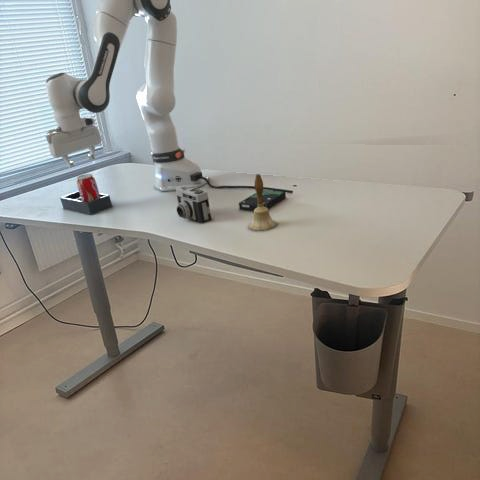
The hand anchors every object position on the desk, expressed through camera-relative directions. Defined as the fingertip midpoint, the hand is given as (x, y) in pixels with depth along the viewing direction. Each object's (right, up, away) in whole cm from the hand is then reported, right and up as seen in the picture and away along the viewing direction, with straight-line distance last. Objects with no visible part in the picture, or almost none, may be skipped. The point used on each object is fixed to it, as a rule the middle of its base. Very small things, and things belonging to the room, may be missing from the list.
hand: (81, 163), depth 183 cm
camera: (+42, -24, -15) cm, 51 cm away
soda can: (+2, -15, +9) cm, 17 cm away
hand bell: (+66, -29, -29) cm, 78 cm away
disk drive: (+67, -18, -12) cm, 70 cm away
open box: (-2, -14, +12) cm, 18 cm away
